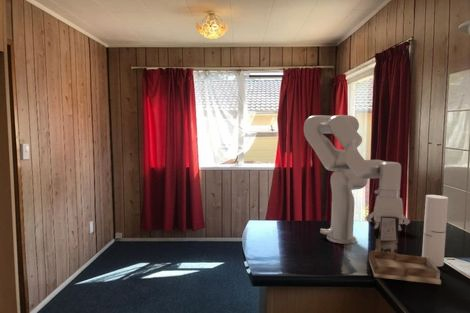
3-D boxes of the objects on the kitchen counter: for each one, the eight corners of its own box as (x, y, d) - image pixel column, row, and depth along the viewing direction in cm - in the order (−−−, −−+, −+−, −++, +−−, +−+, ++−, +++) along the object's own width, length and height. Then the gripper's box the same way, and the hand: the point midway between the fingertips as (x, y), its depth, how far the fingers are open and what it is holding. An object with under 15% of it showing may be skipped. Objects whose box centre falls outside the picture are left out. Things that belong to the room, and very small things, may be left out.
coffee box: (397, 260, 134) (399, 218, 132) (379, 258, 135) (381, 217, 134) (391, 252, 143) (393, 212, 141) (374, 250, 144) (376, 211, 143)
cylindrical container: (443, 268, 127) (448, 199, 125) (420, 263, 131) (425, 197, 129) (443, 261, 133) (448, 196, 131) (422, 257, 137) (426, 194, 135)
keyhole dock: (374, 276, 118) (375, 266, 118) (368, 259, 134) (369, 250, 134) (440, 284, 114) (441, 273, 113) (427, 265, 129) (427, 255, 129)
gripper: (366, 194, 135) (364, 239, 137) (415, 197, 131) (413, 244, 133) (364, 190, 143) (362, 234, 144) (411, 193, 138) (408, 238, 140)
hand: (386, 238), depth 138 cm, fingers closed on coffee box, 6 cm apart
